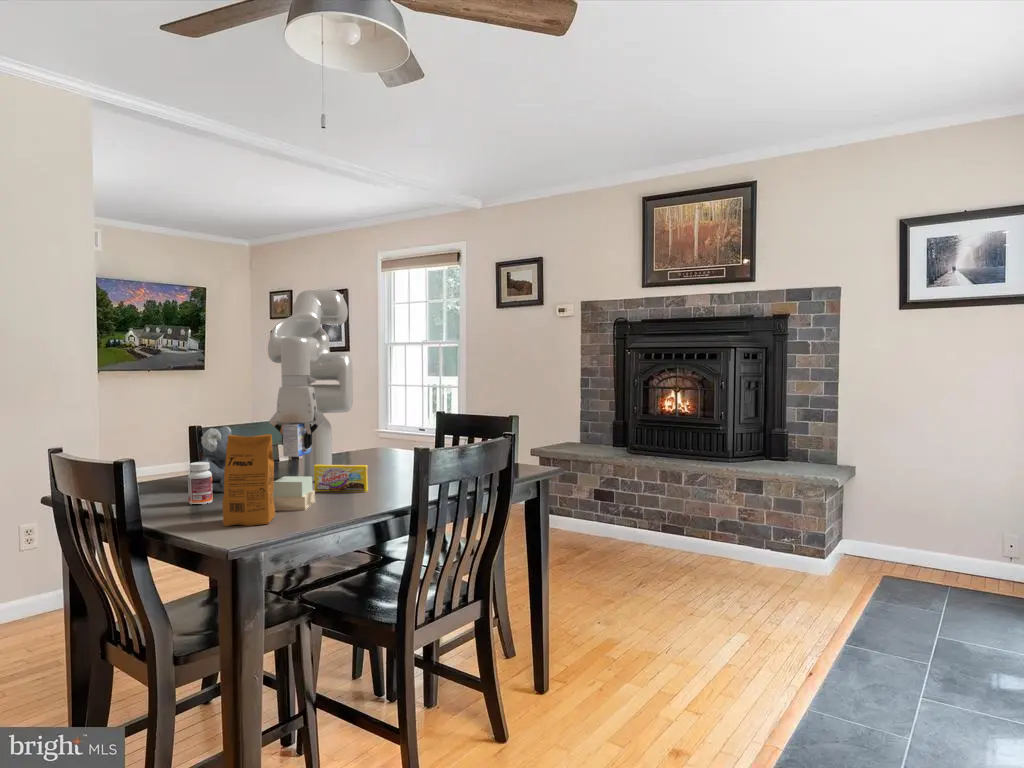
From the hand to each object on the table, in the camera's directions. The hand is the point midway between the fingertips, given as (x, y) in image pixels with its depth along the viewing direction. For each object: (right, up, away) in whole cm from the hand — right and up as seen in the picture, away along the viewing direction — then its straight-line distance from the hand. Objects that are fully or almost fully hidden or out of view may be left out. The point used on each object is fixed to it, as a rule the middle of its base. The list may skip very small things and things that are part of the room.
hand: (297, 447), depth 189 cm
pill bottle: (-29, -16, +5) cm, 34 cm away
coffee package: (-7, -17, -17) cm, 25 cm away
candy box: (+7, -16, +20) cm, 27 cm away
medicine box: (0, -2, 0) cm, 2 cm away
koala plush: (-33, -15, +27) cm, 46 cm away
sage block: (-1, -13, 0) cm, 13 cm away
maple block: (-1, -17, 0) cm, 17 cm away
